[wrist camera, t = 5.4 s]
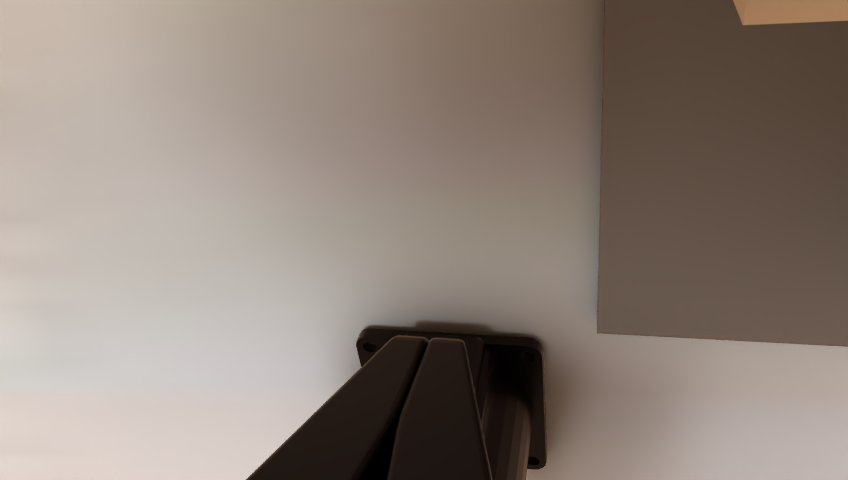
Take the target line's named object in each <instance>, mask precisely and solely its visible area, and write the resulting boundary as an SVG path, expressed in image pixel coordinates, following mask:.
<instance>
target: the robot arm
mask: <svg viewBox="0 0 848 480" xmlns="http://www.w3.org/2000/svg"><path fill="white" fill-rule="evenodd" d="M369 342H372V343H374V344H370V343H369ZM356 347H357V351H358V355H359V359H360V363H361V368H360V369H359V370H358V371H357V372H356V373H355V374H354V375H353V376H352V377H351V378H350V379H349V380H348V381H347V382H346V383H345V384H344V385H343V386H342V387H341V388H340V389H339V390H338V391H337V392H336V393H335V394H334V395H333V396H332V397H330V398H329V399H328V400H327V401H326V402H325V403H324V404H323V405H322V406H321V407H320V408H319V409H318V410H317V411H316V412H315V413H314V414H313V415H312V416H311V417H310V418H309V419H308V420H307V421H306V422H305V423H304V424H303V425H302V426H301V427H300V428H299V429H298V430H297V431H296V432H295V433H293V434H292V435H291V436H290V437H289V438H288V439H287V440H286V441H285V442H284V443H283V444H282V445H281V446H280V447H279V448H278V449H277V450H276V451H275V452H274V453H273V454H272V455H271V456H270V457H269V458H268V459H267V460H266V461H265V462H264V463H263V464H262V465H261V466H260V467H259V468H257V469H256V470H255V471H254V472H253V473H252V474H251V475H250V476H249V477H248V478H247V479H246V480H526V472H527V469H540V468H543V467H544V466H545V465H546V459H547V441H546V413H545V385H544V357H543V347H542V345H541V344H540V343H539V341H537V340H535V339H532V338H525V337H507V336H489V335H471V334H454V333H436V332H418V331H400V330H382V329H365V330H363V331H362V332H361V333H360V335H359V337H358V340H357V343H356ZM526 351H527V352H531V353H532V354H527V353H524V352H526Z"/></svg>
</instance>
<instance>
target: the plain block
mask: <svg viewBox="0 0 848 480" xmlns="http://www.w3.org/2000/svg"><path fill="white" fill-rule="evenodd" d="M733 2H734V4H735V7H736V9H737V12H738V14H739V17H740V19H741V22H742V24H743V25H759V24H782V23H805V22H828V21H848V0H733Z"/></svg>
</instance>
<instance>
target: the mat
mask: <svg viewBox="0 0 848 480" xmlns="http://www.w3.org/2000/svg"><path fill="white" fill-rule="evenodd" d="M597 333H603V334H622V335H641V336H659V337H678V338H697V339H715V340H734V341H753V342H771V343H790V344H809V345H827V346H846V347H848V21H828V22H805V23H782V24H759V25H743V24H742V22H741V19H740V17H739V14H738V12H737V9H736V7H735V4H734V2H733V0H605V23H604V66H603V108H602V150H601V193H600V235H599V277H598V320H597Z"/></svg>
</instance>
